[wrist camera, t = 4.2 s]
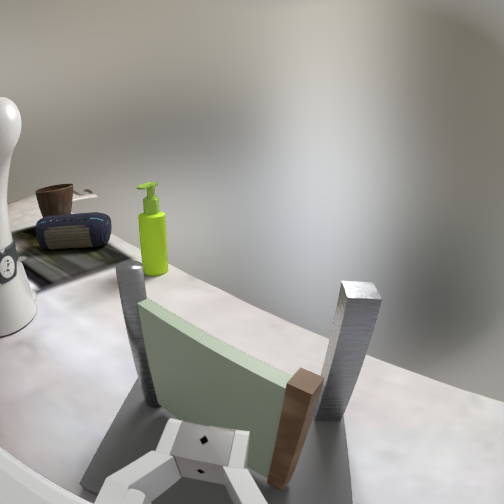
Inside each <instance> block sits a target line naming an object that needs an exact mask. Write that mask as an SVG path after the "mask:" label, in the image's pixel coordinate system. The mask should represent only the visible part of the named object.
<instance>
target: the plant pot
mask: <svg viewBox="0 0 504 504" xmlns="http://www.w3.org/2000/svg"><path fill="white" fill-rule="evenodd" d="M36 196H37V201H38V204H39V208H40V211H41V214H42V216H43V218H44V217H47V216H56V215H68V214H71V208H72V197H73V184H60V185H53V186H49V187H45V188H41V189H38V190H36Z"/></svg>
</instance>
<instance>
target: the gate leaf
mask: <svg viewBox="0 0 504 504" xmlns="http://www.w3.org/2000/svg"><path fill="white" fill-rule="evenodd" d="M137 305H138V311H139V317H140V322H141V328H142V333H143V339H144V344H145V349H146V353H147V358H148V363H149V367H150V372H151V376H152V380H153V384H154V388H155V392H156V396H157V400H158V403H159V404H160V405H161V406H162V407H163V408H165V409H166V410H167V411H168V412H169V413H171V414H172V415H173V416H175V417H176V418H177V419H178V420H181V421H185V422H190V423H195V424H201V425H206V426H214V427H221V428H229V429H236V430H243V431H250V440H249V451H248V460H247V467H248V468H250V469H252V470H253V471H255V472H257V473H258V474H260V475H262V476H264V477H266V478H267V484H269V485H270V486H272V487H274V488H276V489H278V490H280V491H282V490H283V489H284V488H285V486H286V485H287V484H288V483H289V481H290V480H291V478H292V476H293V473H294V471H295V468H296V465H297V463H298V460H299V457H300V454H301V451H302V449H303V446H304V443H305V440H306V437H307V434H308V431H309V428H310V425H311V422H312V419H313V416H314V412H315V409H316V406H317V403H318V399H319V396H320V393H321V389H322V386H323V382H324V377H322V376H319V375H317V374H314V373H312V372H310V371H307V370H305V369H303V368H300V369H299V370H298V371H297V372H296V373H295V374H294V376H293V375H291V374H288V373H286V372H284V371H282V370H280V369H278V368H276V367H274V366H271V365H269V364H267V363H265V362H263V361H261V360H259V359H257V358H255V357H253V356H251V355H249V354H247V353H245V352H243V351H241V350H239V349H237V348H235V347H233V346H231V345H230V344H228V343H226V342H224V341H222V340H220V339H218V338H216V337H215V336H213V335H211V334H209V333H207V332H205V331H204V330H202V329H200V328H198V327H196V326H195V325H193V324H191V323H189V322H188V321H186V320H184V319H182V318H181V317H179V316H177V315H175V314H174V313H172V312H170V311H169V310H167V309H165V308H164V307H162V306H160V305H159V304H157V303H155V302H154V301H152V300H150V299H149V298H148V299H146V300H143V301H141V302H139V303H137Z"/></svg>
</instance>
